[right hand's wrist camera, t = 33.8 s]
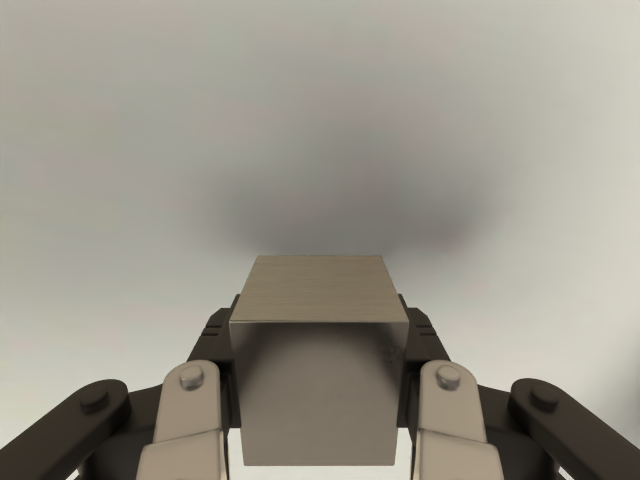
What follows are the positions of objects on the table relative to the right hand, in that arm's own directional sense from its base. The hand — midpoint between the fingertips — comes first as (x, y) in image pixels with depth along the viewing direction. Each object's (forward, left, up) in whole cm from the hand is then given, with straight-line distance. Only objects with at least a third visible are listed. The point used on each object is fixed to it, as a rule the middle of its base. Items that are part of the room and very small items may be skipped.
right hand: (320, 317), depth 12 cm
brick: (0, 0, 0) cm, 1 cm away
